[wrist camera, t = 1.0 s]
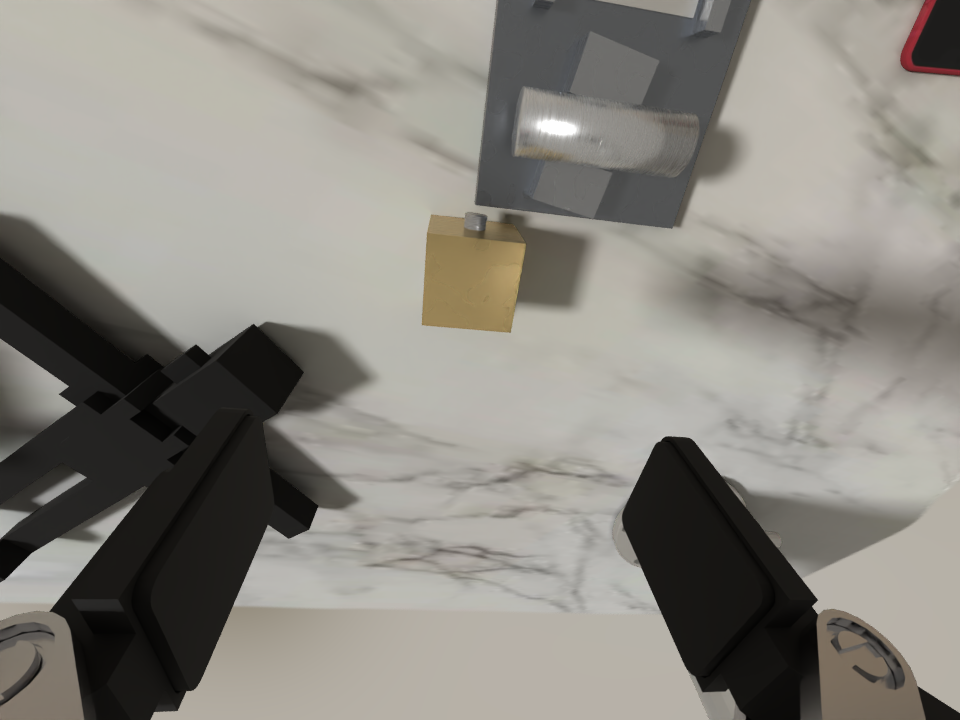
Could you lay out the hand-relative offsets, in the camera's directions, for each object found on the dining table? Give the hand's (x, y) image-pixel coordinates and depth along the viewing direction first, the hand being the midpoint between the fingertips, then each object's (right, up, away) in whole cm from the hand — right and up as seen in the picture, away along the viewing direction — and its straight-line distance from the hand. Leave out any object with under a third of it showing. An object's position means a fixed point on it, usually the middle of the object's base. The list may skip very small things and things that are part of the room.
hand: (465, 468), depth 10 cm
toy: (-27, -2, +21) cm, 34 cm away
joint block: (0, +9, +16) cm, 18 cm away
